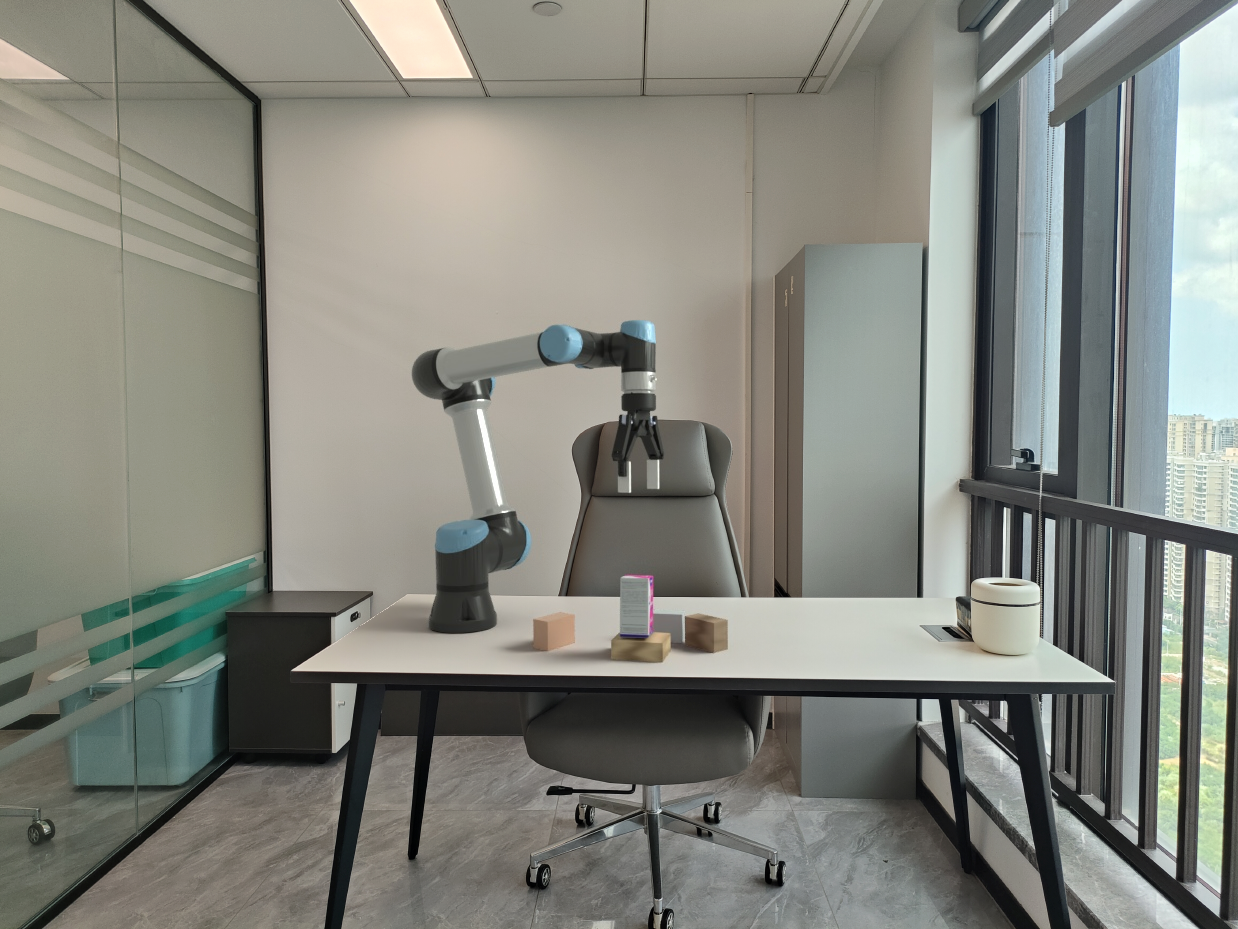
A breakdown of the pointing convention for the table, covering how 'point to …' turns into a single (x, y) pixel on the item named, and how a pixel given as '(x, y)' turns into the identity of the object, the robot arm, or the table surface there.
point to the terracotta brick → (554, 631)
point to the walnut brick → (706, 632)
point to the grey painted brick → (670, 623)
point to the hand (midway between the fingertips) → (639, 490)
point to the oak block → (641, 647)
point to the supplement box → (636, 606)
